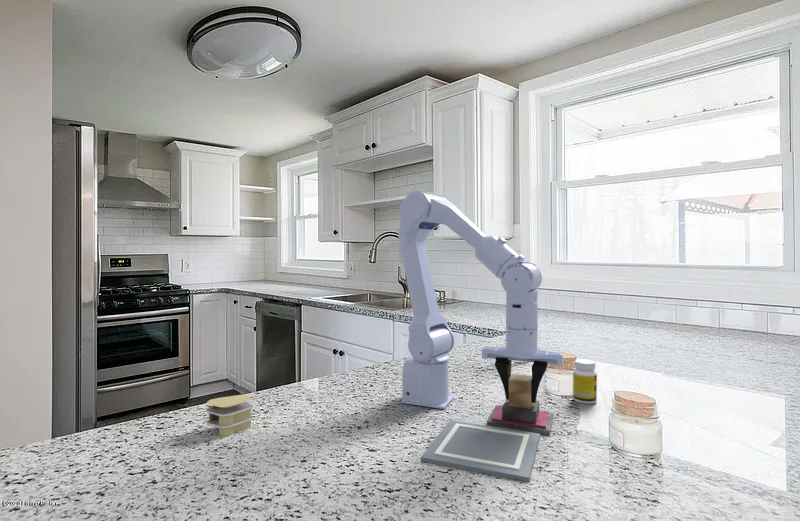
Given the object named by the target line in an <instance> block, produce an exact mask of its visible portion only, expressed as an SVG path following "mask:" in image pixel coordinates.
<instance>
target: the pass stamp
mask: <svg viewBox="0 0 800 521" xmlns="http://www.w3.org/2000/svg"><path fill="white" fill-rule="evenodd" d="M531 395H532V375H528V374H527V375H525V374H519V373H518V374H516V373H511V377H510V378H509V400H508V399H506V398H505V401H504V403H503V407H502V418H506V419H513V420H520V421H527V422H534V423H536V421H537V418H538V414H539V410H540V401H539V400H536V403H532V402H531Z"/></svg>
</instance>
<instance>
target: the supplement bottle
mask: <svg viewBox="0 0 800 521" xmlns="http://www.w3.org/2000/svg"><path fill="white" fill-rule="evenodd" d="M574 367H575V368H574V369H573V370H572V400H574V402H577V403H580V404H586V405H591V404H596V403H597V400H598V398H597V397H598V394H597V391H598V386H597V385H598V374H597V371H596V361H594V360H592V359H591V360H590V359H584V358H583V359H575V361H574Z"/></svg>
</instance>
